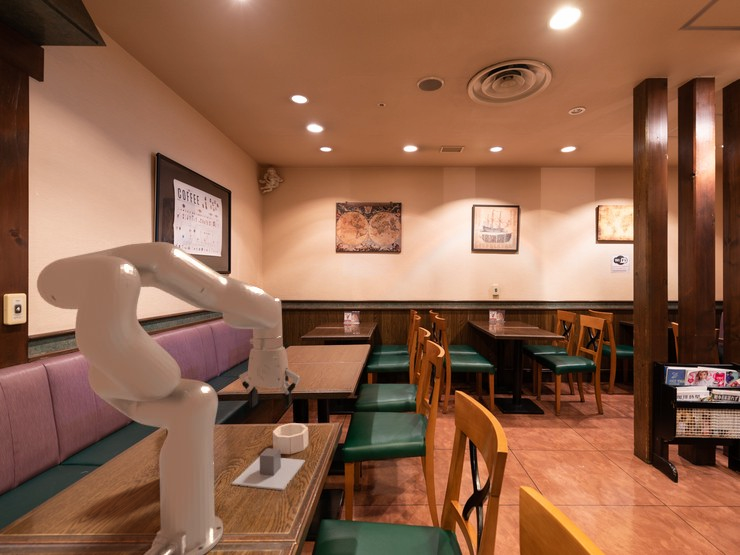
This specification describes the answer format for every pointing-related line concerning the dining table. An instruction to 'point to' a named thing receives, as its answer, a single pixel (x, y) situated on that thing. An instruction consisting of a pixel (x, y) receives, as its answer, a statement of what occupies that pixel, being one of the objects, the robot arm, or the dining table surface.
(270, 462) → the lid
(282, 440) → the bowl
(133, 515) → the dining table surface
